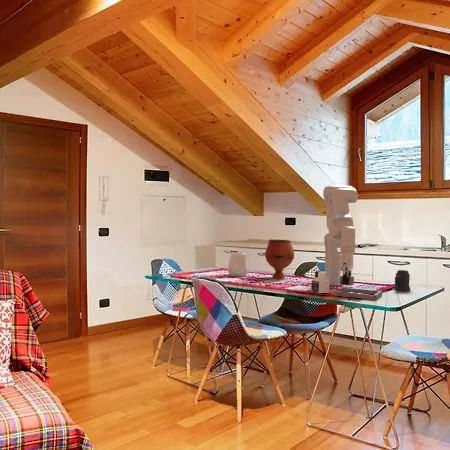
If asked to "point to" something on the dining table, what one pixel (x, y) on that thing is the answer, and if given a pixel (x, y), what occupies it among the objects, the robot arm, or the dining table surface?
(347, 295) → the tray
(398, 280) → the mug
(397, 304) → the dining table surface
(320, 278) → the medicine bottle
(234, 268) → the vase
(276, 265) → the goblet
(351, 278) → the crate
